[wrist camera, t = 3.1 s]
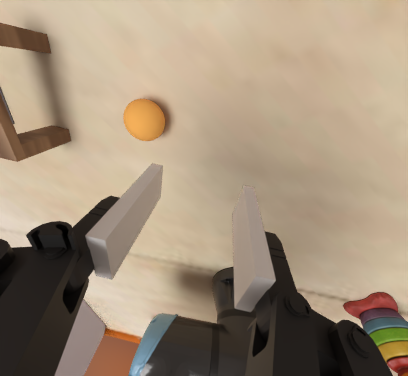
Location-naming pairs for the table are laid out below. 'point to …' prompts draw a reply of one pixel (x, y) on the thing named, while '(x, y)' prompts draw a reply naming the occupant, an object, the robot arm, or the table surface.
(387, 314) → the stacking bear
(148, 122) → the ball
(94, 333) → the game console
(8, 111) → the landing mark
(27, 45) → the bridge
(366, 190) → the table surface
